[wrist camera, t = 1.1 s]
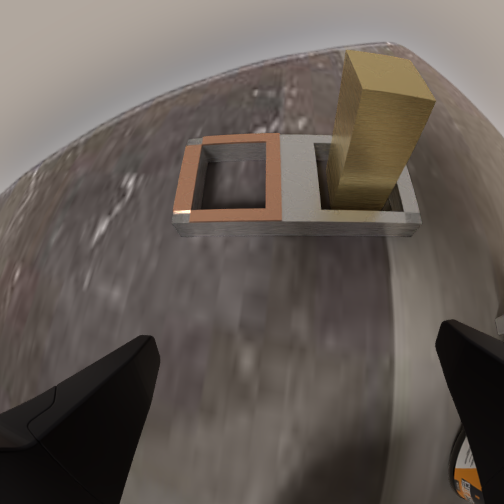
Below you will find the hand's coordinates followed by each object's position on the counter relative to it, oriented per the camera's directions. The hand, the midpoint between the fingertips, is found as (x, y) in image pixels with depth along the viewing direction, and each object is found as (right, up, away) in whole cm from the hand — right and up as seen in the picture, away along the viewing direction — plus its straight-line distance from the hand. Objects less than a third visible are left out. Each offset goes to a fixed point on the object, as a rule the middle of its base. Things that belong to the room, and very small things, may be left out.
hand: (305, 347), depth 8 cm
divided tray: (+3, +8, +17) cm, 19 cm away
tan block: (+7, +8, +17) cm, 20 cm away
